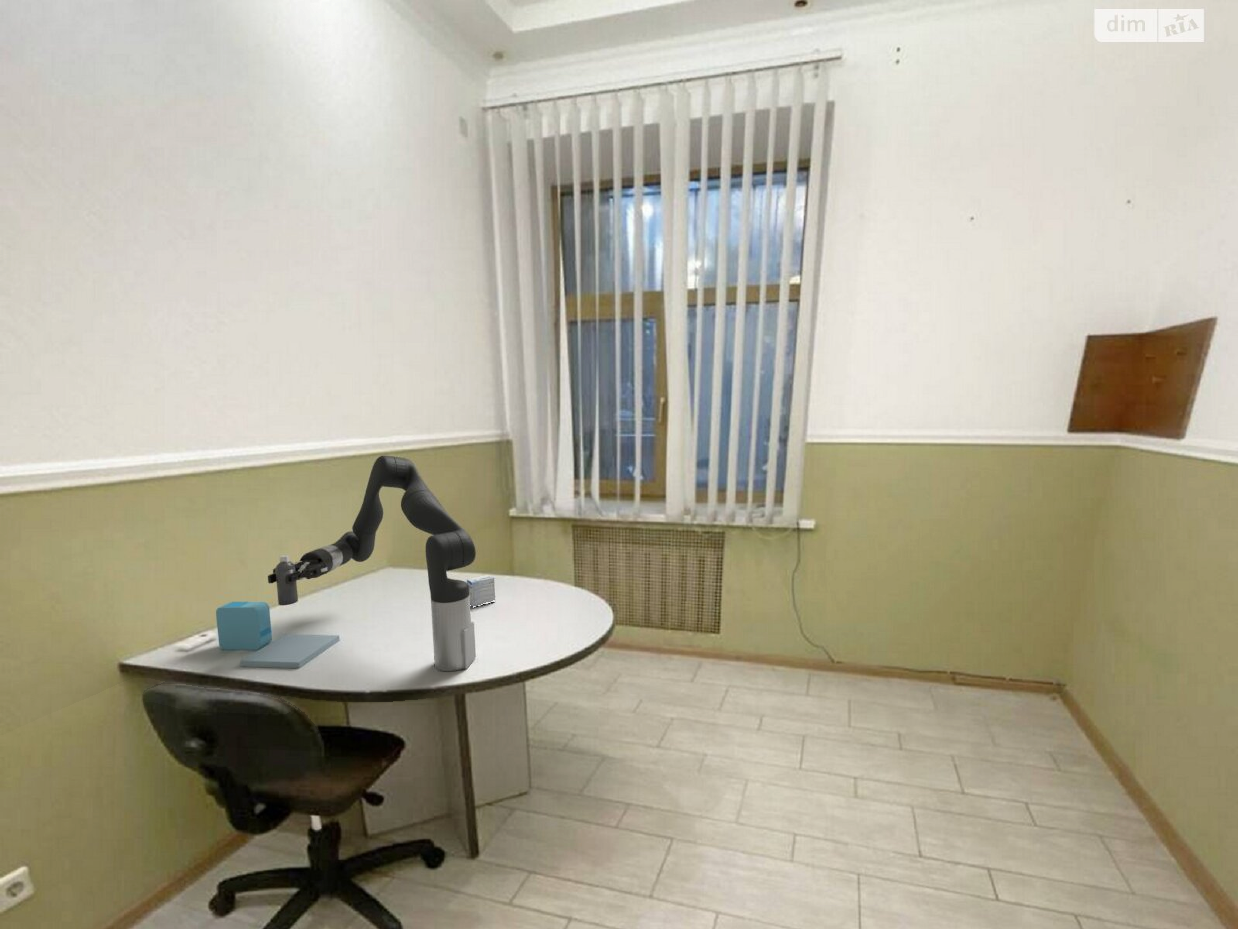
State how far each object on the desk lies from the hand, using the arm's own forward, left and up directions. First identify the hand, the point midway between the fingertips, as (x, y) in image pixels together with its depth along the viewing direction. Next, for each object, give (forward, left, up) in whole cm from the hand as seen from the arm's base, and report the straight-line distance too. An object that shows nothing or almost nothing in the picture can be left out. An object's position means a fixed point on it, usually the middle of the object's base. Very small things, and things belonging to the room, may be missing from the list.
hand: (278, 579), depth 136 cm
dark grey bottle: (0, -3, -7) cm, 8 cm away
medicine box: (-38, -41, -21) cm, 60 cm away
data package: (+16, -6, -21) cm, 27 cm away
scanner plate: (0, -3, -21) cm, 21 cm away
